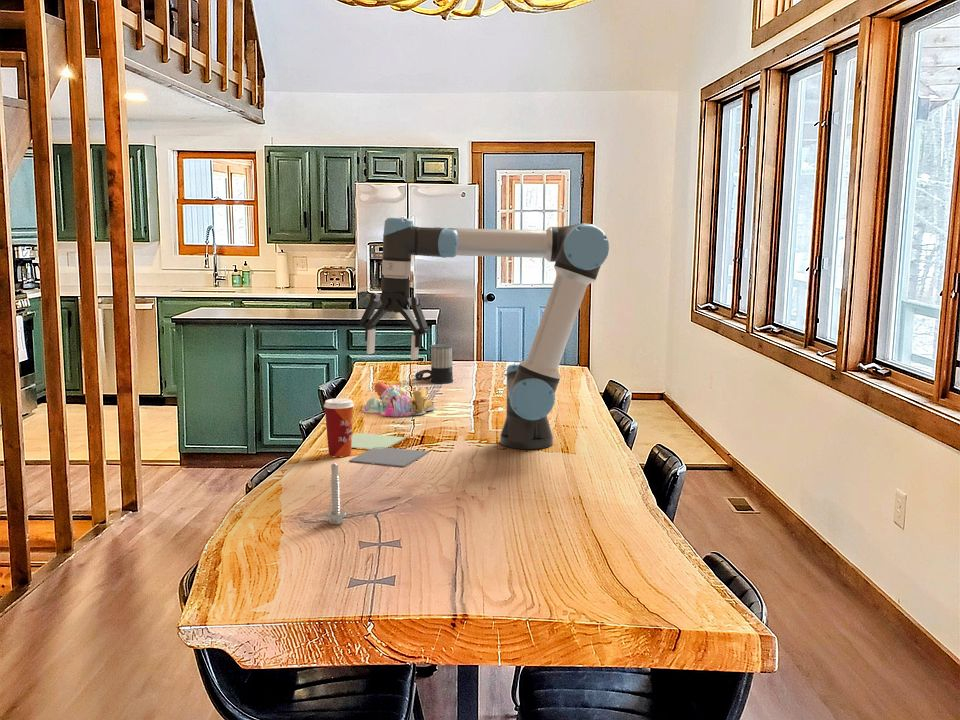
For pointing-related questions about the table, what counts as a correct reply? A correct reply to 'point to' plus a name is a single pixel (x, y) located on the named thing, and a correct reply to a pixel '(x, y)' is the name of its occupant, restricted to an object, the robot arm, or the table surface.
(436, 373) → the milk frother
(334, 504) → the screw
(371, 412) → the pastel sphere sculpture
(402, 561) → the table surface
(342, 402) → the coffee cup
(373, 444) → the pad green
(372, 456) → the pad grey
